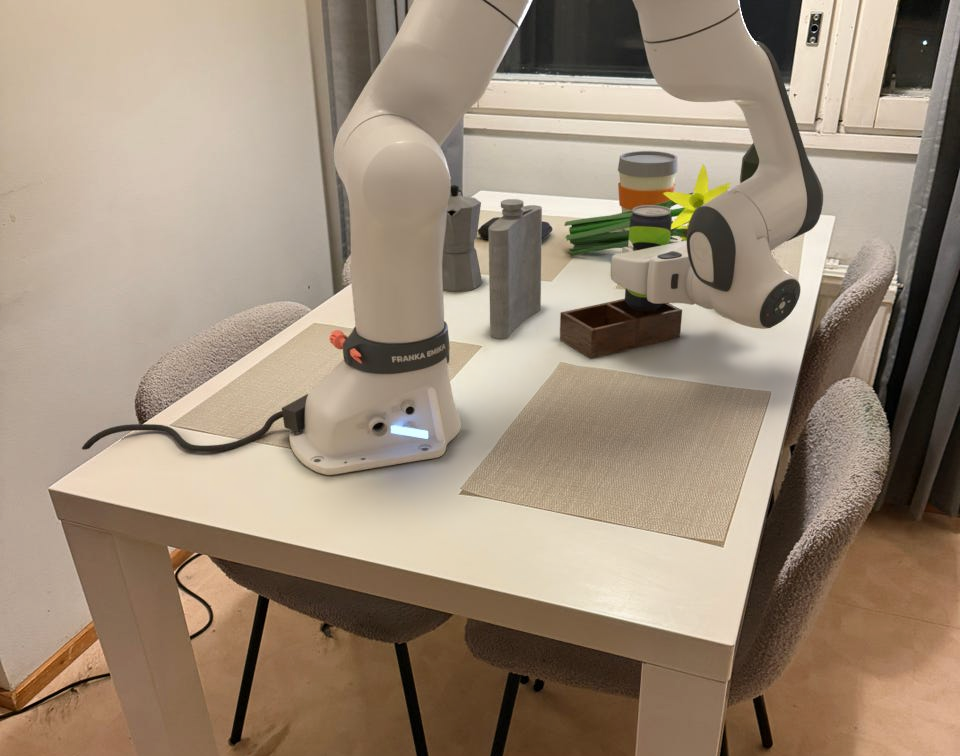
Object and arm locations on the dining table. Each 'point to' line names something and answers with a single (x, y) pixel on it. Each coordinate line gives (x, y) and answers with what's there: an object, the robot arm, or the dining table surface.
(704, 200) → the daffodil flowers
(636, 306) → the beverage can
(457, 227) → the coffeepot
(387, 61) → the robot arm
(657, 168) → the reusable coffee cup
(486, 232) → the carrying case
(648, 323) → the divided box
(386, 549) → the dining table surface
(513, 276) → the hip flask
